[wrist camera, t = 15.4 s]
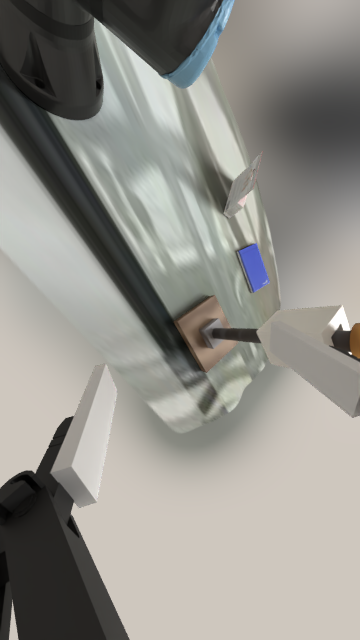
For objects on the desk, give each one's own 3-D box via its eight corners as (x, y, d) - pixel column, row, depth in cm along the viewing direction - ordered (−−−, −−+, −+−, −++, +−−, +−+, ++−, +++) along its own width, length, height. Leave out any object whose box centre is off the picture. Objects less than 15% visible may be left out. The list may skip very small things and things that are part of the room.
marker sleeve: (256, 331, 25) (321, 333, 18) (277, 310, 28) (342, 305, 21) (271, 364, 27) (337, 378, 20) (290, 341, 29) (355, 346, 22)
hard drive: (270, 282, 54) (257, 242, 51) (254, 292, 50) (239, 250, 48) (265, 283, 55) (252, 244, 53) (249, 293, 52) (235, 252, 49)
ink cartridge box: (238, 187, 50) (269, 158, 41) (228, 219, 48) (259, 196, 39) (232, 181, 49) (262, 150, 40) (222, 214, 47) (252, 188, 38)
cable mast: (173, 321, 39) (546, 303, 7) (209, 296, 44) (528, 218, 12) (201, 370, 42) (549, 509, 10) (232, 342, 47) (534, 376, 15)
